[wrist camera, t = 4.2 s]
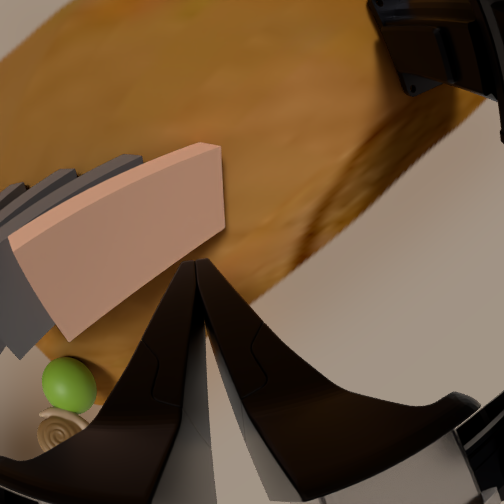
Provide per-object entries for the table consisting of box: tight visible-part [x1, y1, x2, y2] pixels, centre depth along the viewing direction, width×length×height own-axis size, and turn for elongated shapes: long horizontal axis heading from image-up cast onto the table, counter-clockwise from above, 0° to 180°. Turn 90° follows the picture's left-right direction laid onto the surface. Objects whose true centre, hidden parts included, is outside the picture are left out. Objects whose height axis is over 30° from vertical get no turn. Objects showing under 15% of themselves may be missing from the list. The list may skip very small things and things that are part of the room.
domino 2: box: [0, 154, 143, 360], centre depth 10 cm, size 1×4×10 cm
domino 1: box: [0, 169, 77, 354], centre depth 9 cm, size 1×4×10 cm, turn 179°
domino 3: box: [8, 142, 225, 342], centre depth 11 cm, size 1×4×10 cm
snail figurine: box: [37, 357, 97, 452], centre depth 16 cm, size 5×6×12 cm
